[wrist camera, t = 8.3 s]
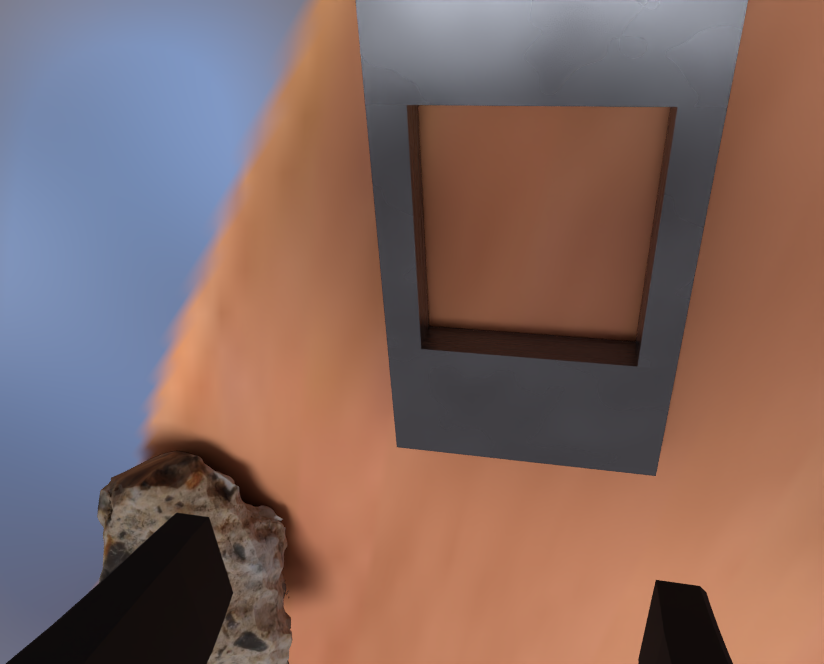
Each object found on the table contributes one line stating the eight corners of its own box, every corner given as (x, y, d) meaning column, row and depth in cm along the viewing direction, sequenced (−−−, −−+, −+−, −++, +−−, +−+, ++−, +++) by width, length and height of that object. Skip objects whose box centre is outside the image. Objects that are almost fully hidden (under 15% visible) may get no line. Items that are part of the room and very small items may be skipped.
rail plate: (869, -717, 10) (901, -785, 9) (653, 448, 22) (656, 478, 21) (321, -602, 11) (294, -646, 10) (405, 422, 24) (396, 449, 23)
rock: (25, 502, 29) (73, 758, 27) (19, 479, 23) (81, 809, 21) (234, 449, 33) (289, 666, 31) (276, 418, 27) (347, 686, 25)
